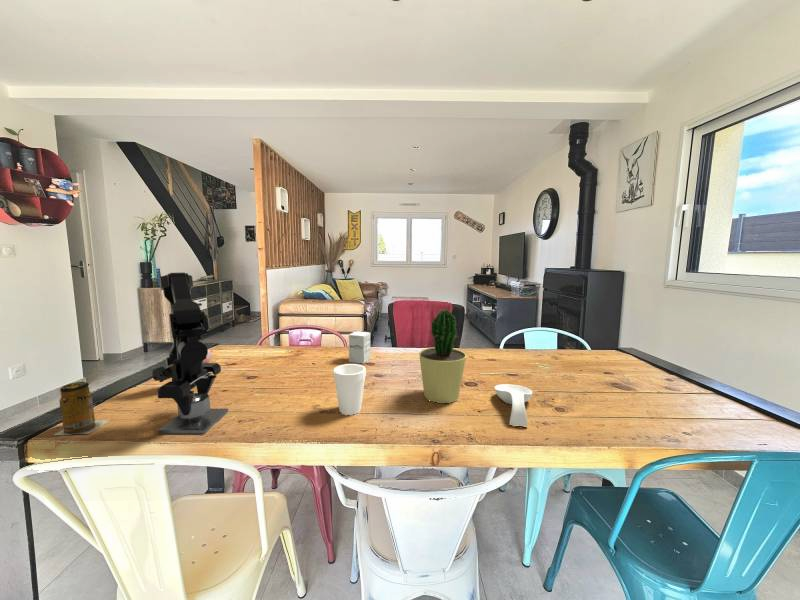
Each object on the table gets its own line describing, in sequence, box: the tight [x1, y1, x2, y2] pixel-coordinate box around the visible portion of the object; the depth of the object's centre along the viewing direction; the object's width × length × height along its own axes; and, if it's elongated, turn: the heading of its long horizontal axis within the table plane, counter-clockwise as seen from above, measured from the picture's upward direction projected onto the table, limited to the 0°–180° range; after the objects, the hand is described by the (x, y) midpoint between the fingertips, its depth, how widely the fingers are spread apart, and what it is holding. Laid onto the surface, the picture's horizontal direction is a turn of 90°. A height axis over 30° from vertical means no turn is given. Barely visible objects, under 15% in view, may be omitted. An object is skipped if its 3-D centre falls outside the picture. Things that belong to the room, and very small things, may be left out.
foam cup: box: [333, 363, 367, 416], centre depth 96 cm, size 10×9×13 cm
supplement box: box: [348, 331, 371, 365], centre depth 142 cm, size 7×7×13 cm
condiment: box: [53, 381, 111, 436], centre depth 85 cm, size 7×8×12 cm
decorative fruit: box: [203, 349, 213, 363], centre depth 130 cm, size 9×8×10 cm
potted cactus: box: [418, 309, 467, 404], centre depth 106 cm, size 15×15×30 cm
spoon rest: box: [494, 383, 533, 427], centre depth 100 cm, size 24×12×7 cm, turn 167°
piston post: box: [157, 396, 229, 435], centre depth 89 cm, size 12×12×7 cm
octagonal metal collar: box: [177, 392, 211, 418], centre depth 89 cm, size 7×7×4 cm
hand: (194, 408), depth 89 cm, fingers closed on octagonal metal collar, 7 cm apart
